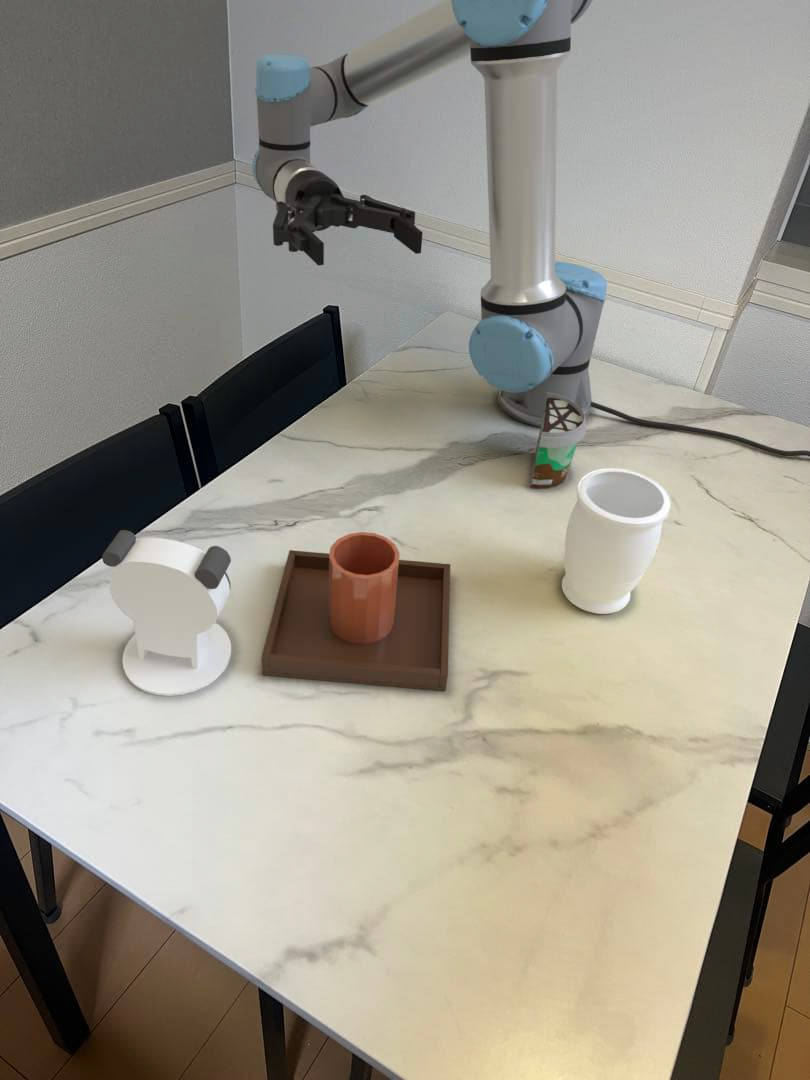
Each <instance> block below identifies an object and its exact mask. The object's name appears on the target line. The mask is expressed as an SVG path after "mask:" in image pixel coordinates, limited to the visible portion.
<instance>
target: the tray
mask: <svg viewBox="0 0 810 1080" xmlns="http://www.w3.org/2000/svg"><path fill="white" fill-rule="evenodd" d="M450 596H451V564H450V563H442V562H428V561H419V560H407V559H399V566H398V578H397V591H396V603H395V615H394V625H393V628H392V630H391V631H390V633H389V634H388V635H387V636H386V637H384V638H383V639H381V640H379V641H376V642H373V643H368V644H356V643H351V642H348V641H345V640H343V639H341V638H340V637H338V636H337V635H336V634H335V633H334V632H333V630H332V629H331V627H330V623H329V553H327V552H315V551H303V550H292V549H289V551H288V555H287V558H286V561H285V566H284V569H283V574H282V577H281V581H280V585H279V588H278V593H277V596H276V599H275V604H274V608H273V611H272V615H271V619H270V620H271V621H270V623H269V627H268V631H267V635H266V638H265V642H264V646H263V649H262V650H263V651H262V654H261V657H260V658H261V659H260V663H261V664H260V665H261V675H262V676H270V677H281V678H293V679H304V680H313V681H314V680H316V681H328V682H338V683H339V682H340V683H348V684H349V683H351V684H361V685H373V686H382V687H385V686H386V687H393V688H395V687H396V688H404V689H405V688H407V689H418V690H429V691H439V692H440V691H441V692H446V690H447V684H448V679H449V678H448V677H449V652H450V651H449V649H450V648H449V646H450V644H449V643H450V605H451V604H450V598H451V597H450Z"/></svg>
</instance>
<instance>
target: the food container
mask: <svg viewBox="0 0 810 1080" xmlns="http://www.w3.org/2000/svg"><path fill="white" fill-rule="evenodd" d="M586 434H587V418H585V414H584V412H583V410H582V409H581V407H580V406H579V405H578V404H576V403H575V402H574V401H572V400H570V399H568V398H566V397H564V396H561V395H558V394H554V393H550V392H547V397H546V402H545V407H544V412H543V417H542V422H541V427H540V428H539V434H538V438H537V442H536V448H535V453H534V459H533V466H532V473H531V474H532V475H531V481H530V489H536V490H542V489H543V490H544V489H546V490H547V489H551V488H555V487H558V486H560V485H561V484H563V483H564V482H565V481H566V479H567V476H568V474H569V470H570V468H571V464H572V461H573V459H574V455H575V452H576V449H577V445H578V443H579V442H580V441H582V440H583V438H584V437H585V436H586Z"/></svg>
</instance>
